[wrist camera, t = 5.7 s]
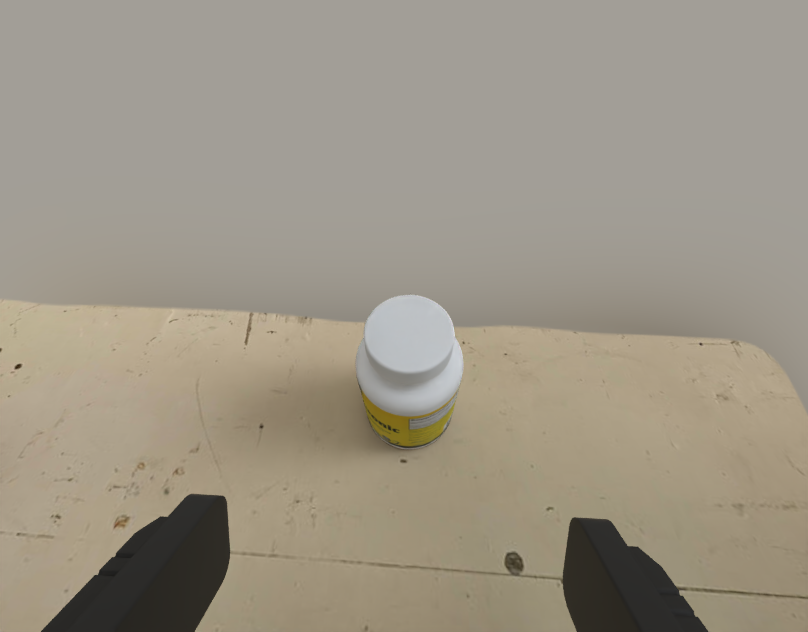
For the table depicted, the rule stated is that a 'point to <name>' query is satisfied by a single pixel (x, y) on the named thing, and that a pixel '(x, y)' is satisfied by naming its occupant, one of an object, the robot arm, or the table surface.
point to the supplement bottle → (409, 370)
